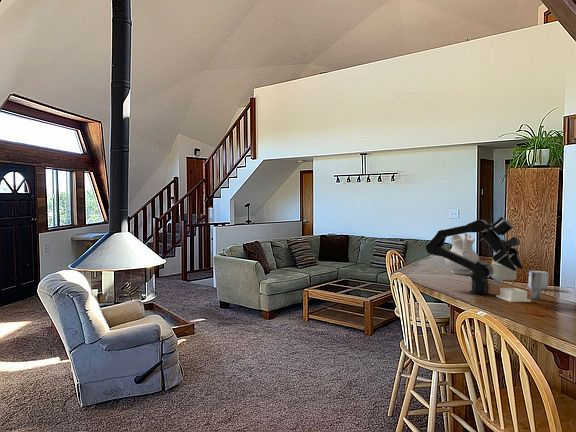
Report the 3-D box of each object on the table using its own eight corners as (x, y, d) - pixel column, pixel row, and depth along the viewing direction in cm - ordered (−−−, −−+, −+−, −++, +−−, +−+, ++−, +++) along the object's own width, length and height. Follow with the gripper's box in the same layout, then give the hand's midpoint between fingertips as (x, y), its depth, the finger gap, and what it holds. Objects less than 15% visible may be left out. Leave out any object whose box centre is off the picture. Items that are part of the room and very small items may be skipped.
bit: (534, 300, 195) (535, 273, 195) (528, 298, 199) (529, 271, 199) (542, 300, 196) (544, 273, 195) (536, 298, 200) (537, 271, 199)
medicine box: (543, 288, 227) (544, 271, 227) (548, 289, 223) (549, 272, 223) (527, 287, 228) (528, 270, 228) (531, 288, 224) (532, 271, 223)
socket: (510, 301, 190) (510, 291, 190) (495, 296, 200) (496, 287, 200) (531, 301, 192) (531, 291, 192) (515, 296, 202) (516, 287, 201)
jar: (518, 281, 245) (520, 249, 245) (493, 279, 248) (495, 248, 247) (512, 277, 258) (513, 247, 258) (488, 276, 261) (489, 246, 260)
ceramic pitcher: (484, 278, 258) (489, 236, 257) (450, 275, 258) (455, 232, 257) (469, 273, 279) (474, 234, 278) (438, 269, 279) (443, 230, 279)
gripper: (501, 231, 192) (527, 260, 185) (515, 230, 205) (540, 257, 198) (481, 247, 198) (506, 275, 191) (496, 245, 211) (520, 271, 204)
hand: (519, 269), depth 196 cm, fingers open, 9 cm apart
